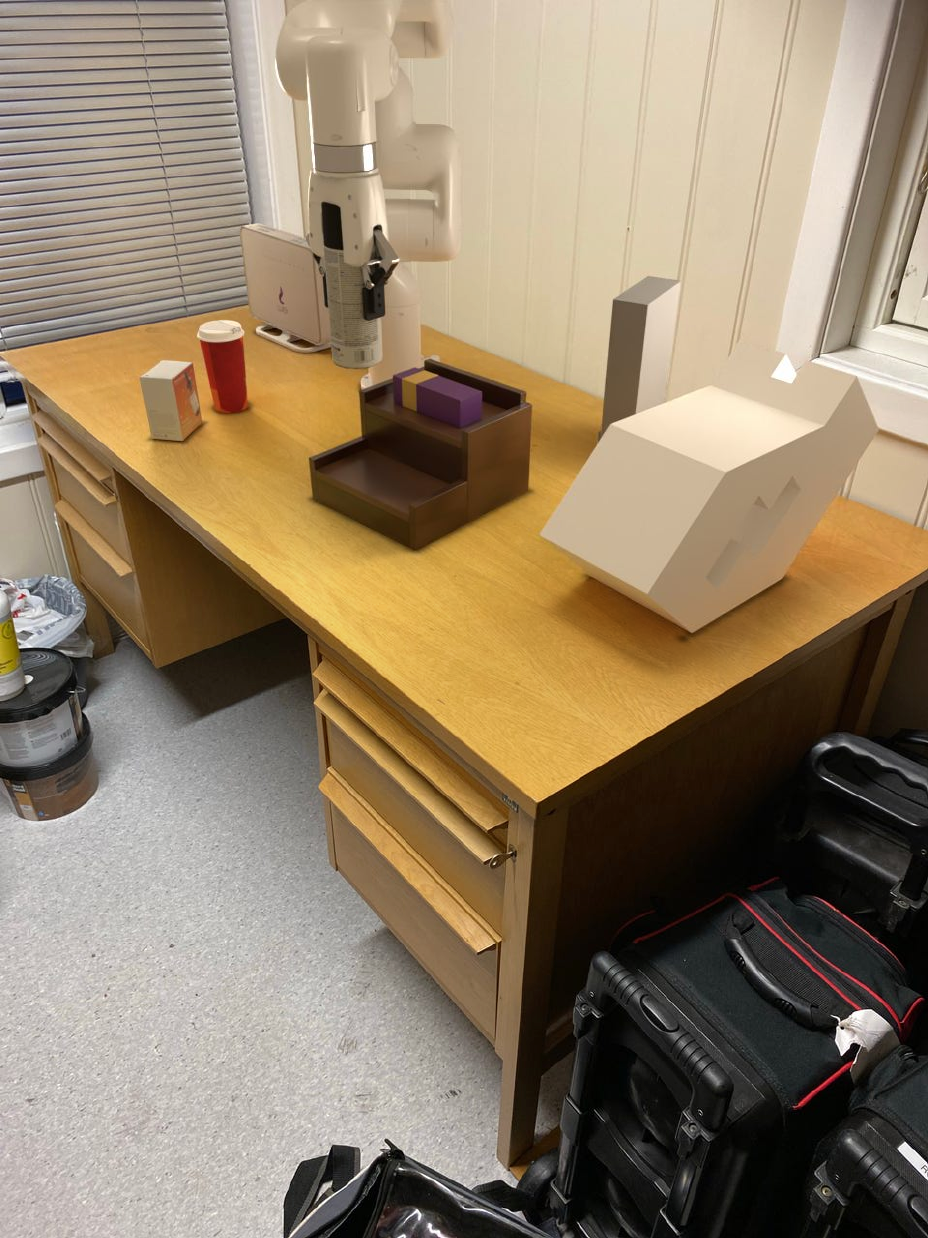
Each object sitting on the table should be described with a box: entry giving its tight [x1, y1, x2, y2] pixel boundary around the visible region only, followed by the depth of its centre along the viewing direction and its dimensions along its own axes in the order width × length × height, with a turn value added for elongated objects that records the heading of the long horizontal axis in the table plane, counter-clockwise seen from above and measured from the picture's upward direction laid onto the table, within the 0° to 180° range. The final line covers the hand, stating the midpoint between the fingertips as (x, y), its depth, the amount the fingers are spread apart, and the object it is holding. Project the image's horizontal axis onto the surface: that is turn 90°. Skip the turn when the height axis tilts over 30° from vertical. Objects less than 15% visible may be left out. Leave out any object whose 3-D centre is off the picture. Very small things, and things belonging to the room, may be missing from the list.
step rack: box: [308, 359, 533, 551], centre depth 135 cm, size 23×21×15 cm
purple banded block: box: [393, 367, 482, 428], centre depth 133 cm, size 4×13×4 cm, turn 47°
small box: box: [139, 359, 203, 442], centre depth 154 cm, size 8×6×10 cm
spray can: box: [321, 202, 383, 370], centre depth 120 cm, size 7×7×20 cm
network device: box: [239, 222, 331, 354], centre depth 189 cm, size 26×9×20 cm, turn 43°
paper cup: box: [196, 319, 249, 414], centre depth 162 cm, size 8×8×14 cm
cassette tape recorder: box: [596, 275, 682, 445], centre depth 145 cm, size 14×6×25 cm, turn 150°
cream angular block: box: [539, 339, 880, 634], centre depth 116 cm, size 26×16×35 cm
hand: (354, 310), depth 122 cm, fingers closed on spray can, 6 cm apart
